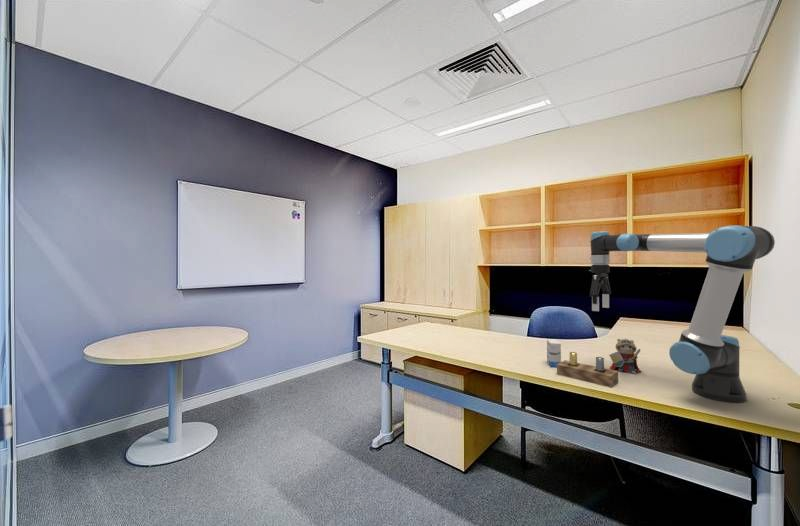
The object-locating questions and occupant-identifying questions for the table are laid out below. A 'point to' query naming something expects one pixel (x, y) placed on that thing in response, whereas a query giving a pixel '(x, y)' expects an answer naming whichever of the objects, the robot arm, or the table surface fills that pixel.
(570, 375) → the hole block
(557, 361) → the ink box
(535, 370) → the table surface
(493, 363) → the table surface
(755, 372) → the table surface
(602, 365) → the steel peg
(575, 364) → the brass peg
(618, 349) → the figurine
